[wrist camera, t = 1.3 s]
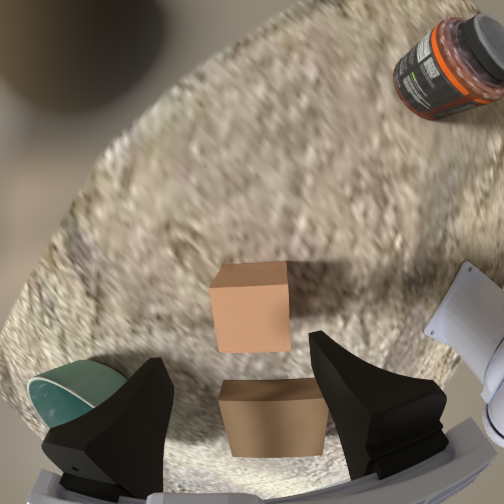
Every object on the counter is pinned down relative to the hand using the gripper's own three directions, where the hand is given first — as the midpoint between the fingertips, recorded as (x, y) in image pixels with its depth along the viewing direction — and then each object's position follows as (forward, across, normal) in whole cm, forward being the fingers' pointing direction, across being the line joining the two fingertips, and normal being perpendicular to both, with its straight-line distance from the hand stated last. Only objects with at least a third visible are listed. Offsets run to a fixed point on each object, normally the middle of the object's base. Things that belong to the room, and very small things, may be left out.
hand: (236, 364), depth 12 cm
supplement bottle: (+9, -18, -14) cm, 25 cm away
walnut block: (+10, -1, +16) cm, 18 cm away
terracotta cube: (+10, -2, +1) cm, 11 cm away
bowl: (+13, +18, +13) cm, 26 cm away
